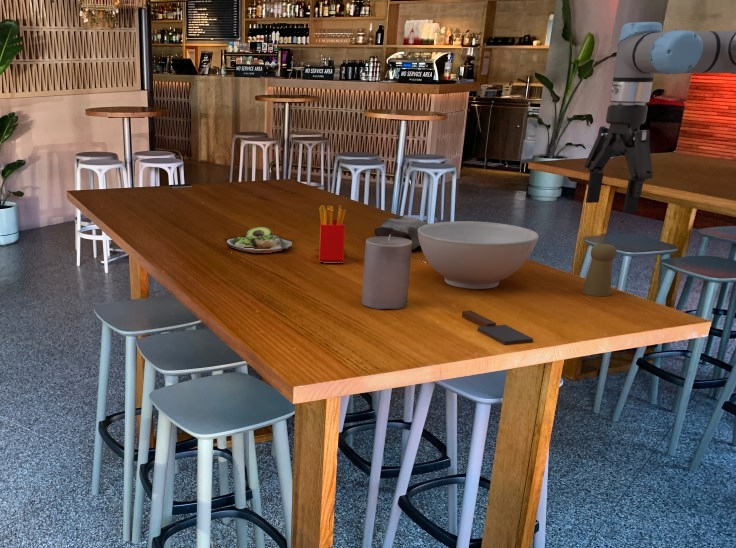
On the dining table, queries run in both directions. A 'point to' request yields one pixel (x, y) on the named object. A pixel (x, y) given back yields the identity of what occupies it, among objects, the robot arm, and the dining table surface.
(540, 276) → the dining table surface
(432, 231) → the decorative bowl
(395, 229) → the rock
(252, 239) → the salad plate
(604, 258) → the pepper mill
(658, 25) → the robot arm
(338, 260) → the french fries container
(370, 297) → the pillar candle
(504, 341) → the spatula
